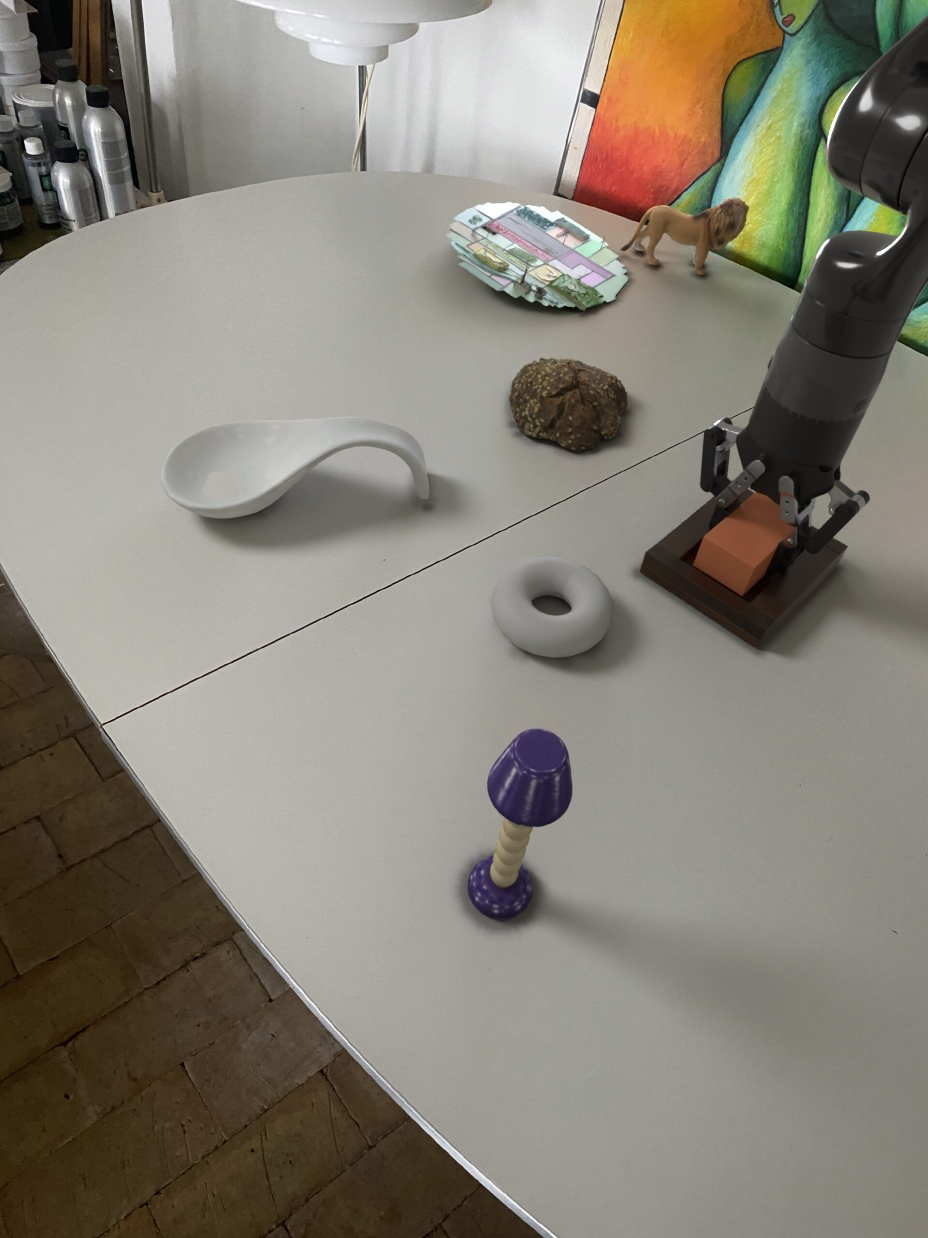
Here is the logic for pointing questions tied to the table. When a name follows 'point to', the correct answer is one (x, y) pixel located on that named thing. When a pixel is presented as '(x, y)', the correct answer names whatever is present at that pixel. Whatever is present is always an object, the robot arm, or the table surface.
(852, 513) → the robot arm
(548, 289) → the city model
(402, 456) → the spoon rest
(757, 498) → the orange block
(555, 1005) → the table surface
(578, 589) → the donut
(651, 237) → the lion figurine
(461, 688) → the table surface
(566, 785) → the toy lamp
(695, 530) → the back plate
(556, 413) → the bread roll
